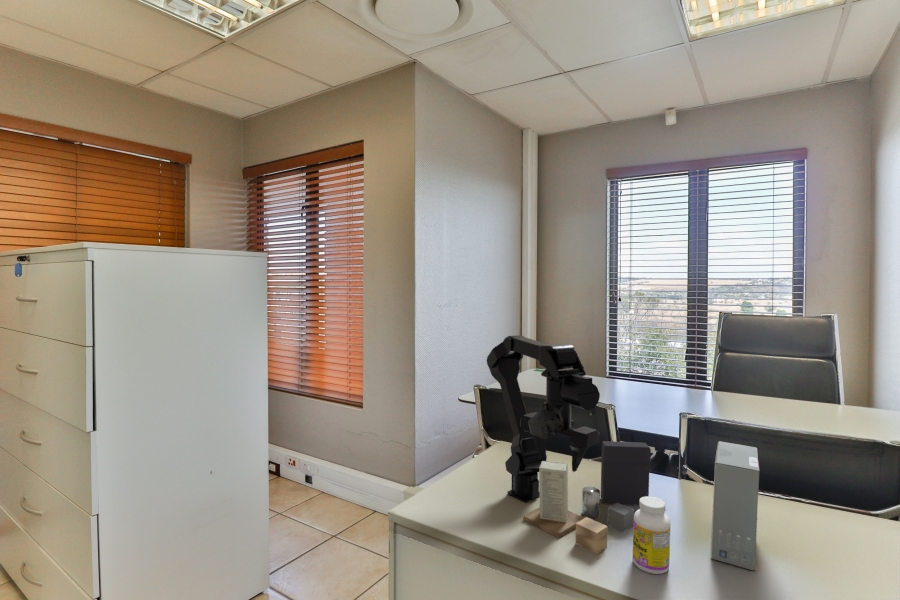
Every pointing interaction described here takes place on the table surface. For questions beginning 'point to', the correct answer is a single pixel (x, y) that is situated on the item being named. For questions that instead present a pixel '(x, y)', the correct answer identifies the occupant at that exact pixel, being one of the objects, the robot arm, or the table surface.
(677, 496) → the table surface
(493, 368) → the robot arm
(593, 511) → the metal canister
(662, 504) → the supplement bottle
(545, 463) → the skincare box
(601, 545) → the oak block
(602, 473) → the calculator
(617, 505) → the gray cube
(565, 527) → the walnut board
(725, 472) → the hard drive box
